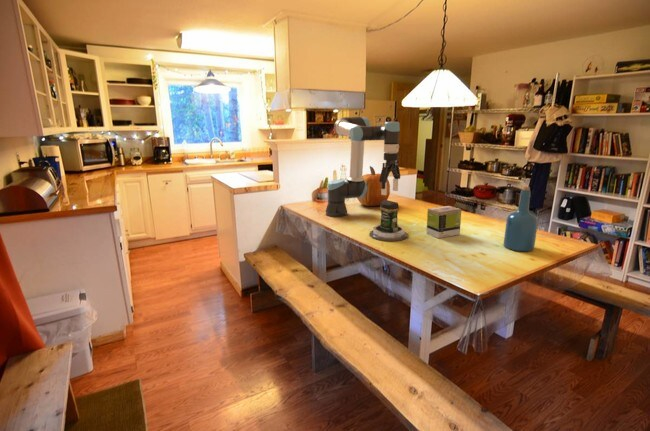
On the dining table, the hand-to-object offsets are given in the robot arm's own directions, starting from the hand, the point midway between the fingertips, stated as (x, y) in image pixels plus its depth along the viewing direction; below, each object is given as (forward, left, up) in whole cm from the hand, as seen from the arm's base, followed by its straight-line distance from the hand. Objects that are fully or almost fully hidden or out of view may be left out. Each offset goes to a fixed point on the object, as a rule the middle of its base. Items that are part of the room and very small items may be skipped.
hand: (389, 192), depth 180 cm
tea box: (-18, +24, -24) cm, 39 cm away
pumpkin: (-60, -43, -24) cm, 77 cm away
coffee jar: (0, 0, -23) cm, 23 cm away
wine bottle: (-17, +61, -24) cm, 68 cm away
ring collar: (0, 0, -24) cm, 24 cm away
